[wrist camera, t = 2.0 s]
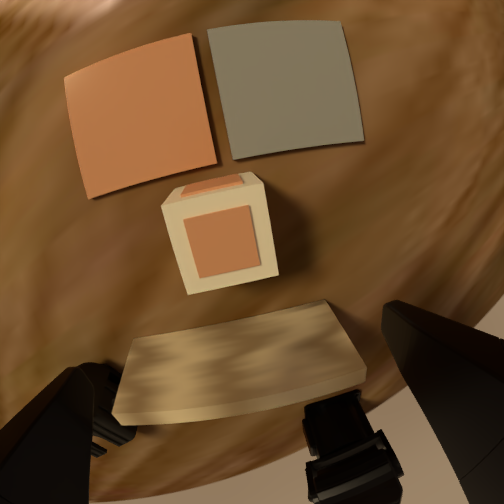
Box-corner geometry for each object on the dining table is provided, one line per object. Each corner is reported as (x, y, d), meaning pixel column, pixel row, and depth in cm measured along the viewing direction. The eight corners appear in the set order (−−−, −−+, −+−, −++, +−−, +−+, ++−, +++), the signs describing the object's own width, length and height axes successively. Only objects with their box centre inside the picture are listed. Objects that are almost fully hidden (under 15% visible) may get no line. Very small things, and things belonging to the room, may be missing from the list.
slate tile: (338, 23, 14) (340, 21, 14) (361, 140, 18) (364, 140, 17) (207, 31, 14) (206, 29, 14) (232, 159, 17) (233, 159, 17)
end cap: (86, 344, 22) (61, 398, 15) (146, 385, 24) (137, 442, 18) (53, 385, 23) (33, 429, 17) (103, 418, 26) (92, 464, 20)
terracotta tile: (191, 34, 14) (191, 32, 13) (217, 162, 17) (217, 163, 17) (66, 78, 14) (63, 77, 13) (90, 197, 17) (88, 199, 17)
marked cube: (250, 168, 18) (263, 180, 13) (264, 242, 20) (279, 276, 15) (174, 186, 18) (159, 203, 13) (193, 257, 20) (187, 296, 15)
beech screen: (324, 299, 22) (366, 367, 15) (326, 336, 24) (361, 404, 17) (133, 338, 22) (111, 413, 14) (151, 371, 23) (138, 443, 16)
